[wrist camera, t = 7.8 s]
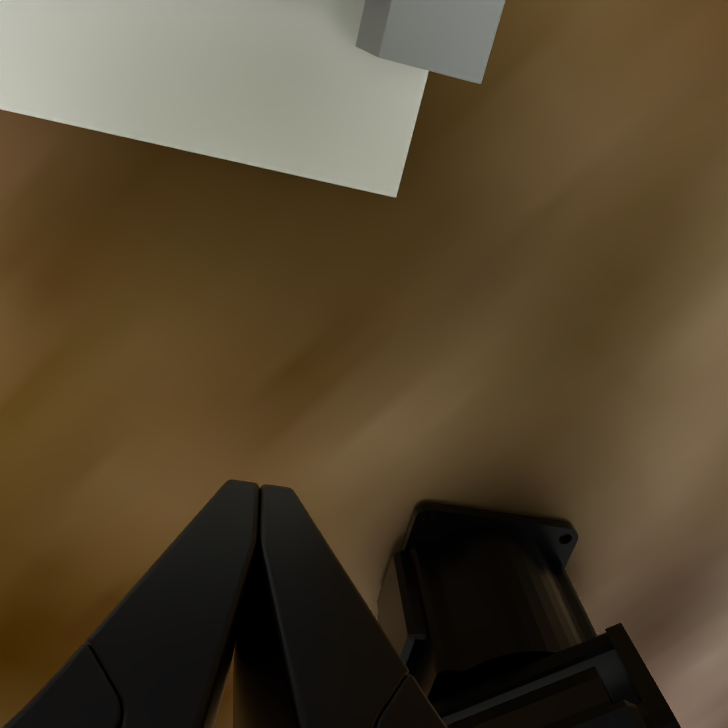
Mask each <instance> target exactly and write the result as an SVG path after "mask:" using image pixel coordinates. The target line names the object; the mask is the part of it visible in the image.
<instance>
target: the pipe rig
mask: <svg viewBox="0 0 728 728" xmlns="http://www.w3.org/2000/svg"><path fill="white" fill-rule="evenodd" d="M504 3H505V0H0V109H2V110H6V111H10V112H15V113H19V114H24V115H28V116H33V117H37V118H42V119H46V120H51V121H55V122H60V123H64V124H69V125H73V126H77V127H82V128H86V129H91V130H95V131H100V132H104V133H109V134H113V135H118V136H122V137H127V138H131V139H136V140H140V141H145V142H149V143H153V144H158V145H162V146H167V147H171V148H176V149H180V150H185V151H189V152H194V153H198V154H203V155H207V156H212V157H216V158H221V159H225V160H229V161H234V162H238V163H243V164H247V165H252V166H256V167H261V168H265V169H270V170H274V171H279V172H283V173H288V174H292V175H296V176H301V177H305V178H310V179H314V180H319V181H323V182H328V183H332V184H337V185H341V186H346V187H350V188H355V189H359V190H364V191H368V192H372V193H377V194H381V195H386V196H390V197H395V198H396V196H397V192H398V188H399V184H400V181H401V177H402V173H403V169H404V165H405V161H406V157H407V154H408V150H409V146H410V142H411V138H412V134H413V130H414V126H415V123H416V119H417V115H418V111H419V107H420V103H421V99H422V96H423V92H424V88H425V84H426V80H427V76H428V72H429V71H432V72H436V73H439V74H443V75H447V76H451V77H455V78H459V79H462V80H466V81H470V82H474V83H478V84H481V82H482V79H483V76H484V72H485V69H486V65H487V62H488V58H489V55H490V52H491V48H492V45H493V41H494V38H495V34H496V31H497V28H498V24H499V21H500V17H501V14H502V10H503V7H504Z"/></svg>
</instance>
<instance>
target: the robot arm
mask: <svg viewBox="0 0 728 728" xmlns="http://www.w3.org/2000/svg"><path fill="white" fill-rule="evenodd" d="M426 515H432V516H431V517H430V518H428V519H423V517H424V516H426ZM563 534H567V535H566V536H564V537H560V536H561V535H563ZM577 540H578V534H577V532H576V530H575V528H574V526H573V525H572V524H571V523H568V522H563V521H556V520H549V519H542V518H535V517H528V516H521V515H514V514H506V513H499V512H492V511H485V510H478V509H471V508H464V507H457V506H449V505H442V504H435V503H423V504H420V505H419V506H417V507H416V508H415V510H414V512H413V515H412V518H411V521H410V524H409V527H408V530H407V532H406V535H405V538H404V541H403V544H402V547H401V550H397V551H396V552H395V553H394V554H392V557H391V560H390V563H389V566H388V569H387V572H386V575H385V578H384V581H383V584H382V587H381V590H380V593H379V597H378V600H377V603H378V610H379V616H378V620H376V618H375V616H374V615H373V613H372V612H371V610H370V609H369V607H368V606H367V604H366V602H365V601H364V599H363V598H362V596H361V595H360V593H359V592H358V590H357V588H356V587H355V585H354V584H353V582H352V581H351V579H350V578H349V576H348V574H347V573H346V571H345V570H344V568H343V567H342V565H341V564H340V562H339V560H338V559H337V557H336V556H335V554H334V553H333V551H332V550H331V548H330V546H329V545H328V543H327V542H326V540H325V539H324V537H323V536H322V534H321V532H320V531H319V529H318V528H317V526H316V525H315V523H314V522H313V520H312V518H311V517H310V515H309V514H308V512H307V511H306V509H305V507H304V506H303V504H302V503H301V501H300V500H299V498H298V497H297V495H296V493H295V492H294V491H293V490H292V489H291V488H288V487H281V486H274V485H267V484H266V485H262V486H261V487H260V488H259V486H258V484H256V483H253V482H246V481H239V480H228V481H227V482H226V483H225V484H224V485H223V486H222V487H221V488H220V489H219V490H218V491H217V493H216V494H215V495H214V496H213V497H212V498H211V499H210V501H209V502H208V503H207V504H206V505H205V506H204V507H203V508H202V510H201V511H200V512H199V513H198V514H197V515H196V516H195V517H194V519H193V520H192V521H191V522H190V523H189V524H188V525H187V526H186V528H185V529H184V530H183V531H182V532H181V533H180V534H179V536H178V537H177V538H176V539H175V540H174V541H173V542H172V543H171V545H170V546H169V547H168V548H167V549H166V550H165V551H164V552H163V554H162V555H161V556H160V557H159V558H158V559H157V560H156V562H155V563H154V564H153V565H152V566H151V567H150V568H149V569H148V571H147V572H146V573H145V574H144V575H143V576H142V577H141V578H140V580H139V581H138V582H137V583H136V584H135V585H134V586H133V587H132V589H131V590H130V591H129V592H128V593H127V594H126V595H125V597H124V598H123V599H122V600H121V601H120V602H119V603H118V604H117V606H116V607H115V608H114V609H113V610H112V611H111V612H110V613H109V615H108V616H107V617H106V618H105V619H104V620H103V621H102V623H101V624H100V625H99V626H98V627H97V628H96V629H95V630H94V632H93V633H92V634H91V635H90V636H89V637H88V638H87V640H86V642H85V644H83V645H81V646H80V647H79V648H78V649H77V650H76V651H75V653H74V654H73V655H72V656H71V657H70V658H69V659H68V660H67V662H66V663H65V664H64V665H63V666H62V667H61V668H60V669H59V671H58V672H57V673H56V674H55V675H54V676H53V677H52V678H51V679H50V680H49V681H48V682H47V683H46V684H45V685H44V686H43V687H42V689H41V690H40V691H39V692H38V693H37V694H36V695H35V696H34V697H33V698H32V699H31V700H30V701H29V702H28V703H27V704H26V705H25V706H24V708H22V709H21V710H20V711H19V712H18V713H17V714H16V715H15V716H14V717H13V718H12V719H11V720H10V721H9V722H8V723H7V724H5V725H4V726H3V727H2V728H215V725H216V721H217V717H218V713H219V709H220V706H221V702H222V698H223V694H224V690H225V686H226V682H227V679H228V674H229V670H230V665H231V661H232V657H233V652H234V670H233V728H681V727H680V725H679V723H678V721H677V720H676V718H675V716H674V714H673V712H672V711H671V709H670V707H669V705H668V704H667V702H666V700H665V698H664V697H663V695H662V693H661V691H660V690H659V688H658V686H657V685H656V683H655V681H654V679H653V678H652V676H651V674H650V672H649V671H648V669H647V667H646V665H645V664H644V662H643V660H642V658H641V657H640V655H639V653H638V651H637V650H636V648H635V646H634V644H633V643H632V641H631V639H630V637H629V636H628V634H627V632H626V631H625V629H624V627H623V625H622V624H621V623H619V624H617V625H614V626H612V627H609V628H607V629H605V630H606V633H603V634H601V635H598V636H597V634H596V632H595V630H594V628H593V626H592V624H591V622H590V620H589V618H588V616H587V614H586V612H585V610H584V607H583V605H582V603H581V601H580V599H579V597H578V595H577V593H576V591H575V589H574V587H573V585H572V583H571V581H570V579H569V577H568V575H567V573H566V571H565V569H564V568H565V566H566V564H567V561H568V559H569V557H570V555H571V553H572V551H573V549H574V547H575V545H576V542H577ZM234 648H235V651H234Z"/></svg>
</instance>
